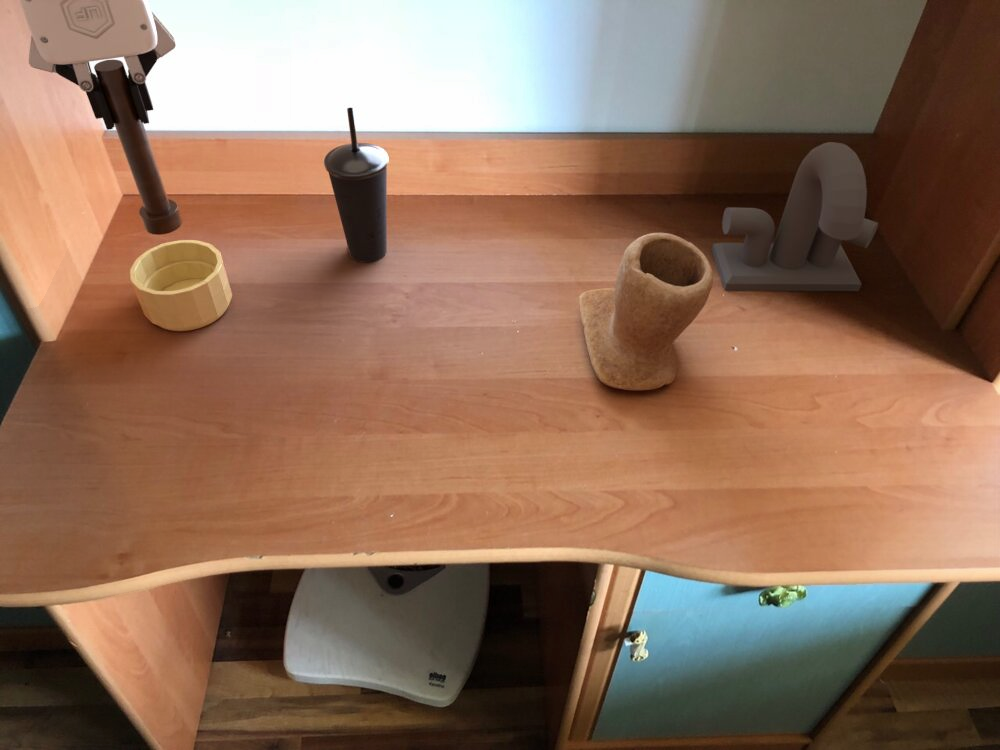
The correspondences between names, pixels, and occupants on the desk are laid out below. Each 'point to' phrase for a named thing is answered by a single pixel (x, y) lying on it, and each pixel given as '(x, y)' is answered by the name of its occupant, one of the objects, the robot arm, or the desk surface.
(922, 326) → the desk surface
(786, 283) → the faucet
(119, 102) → the stirrer
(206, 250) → the bowl
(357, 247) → the drinking cup
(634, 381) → the stone cup
